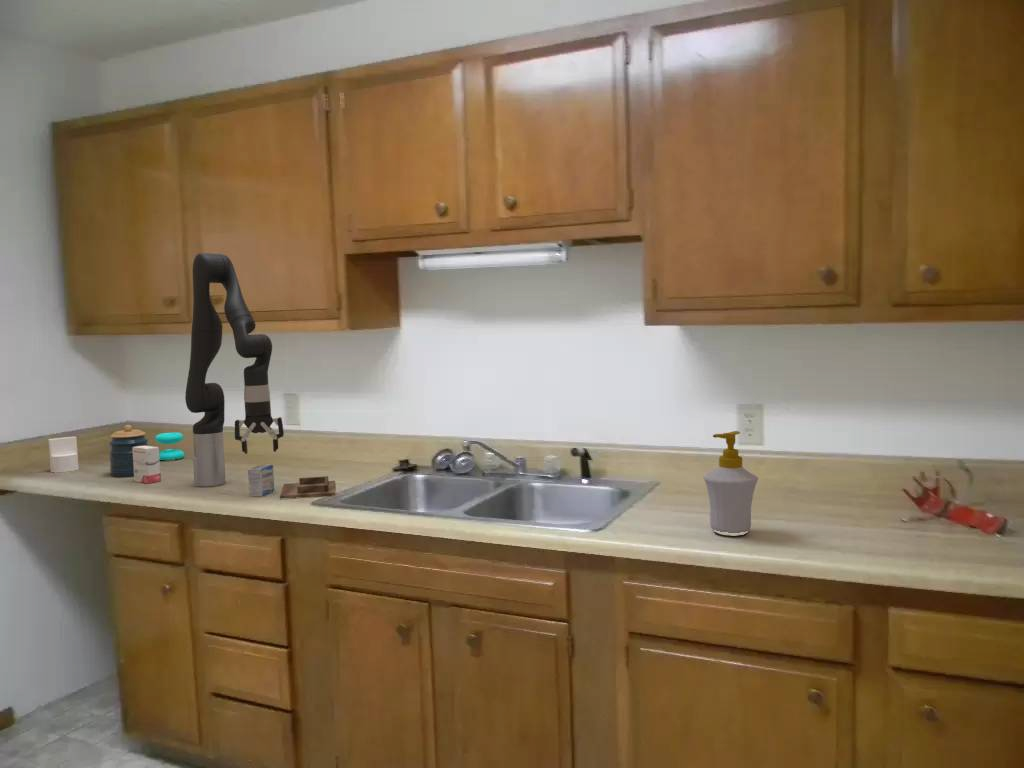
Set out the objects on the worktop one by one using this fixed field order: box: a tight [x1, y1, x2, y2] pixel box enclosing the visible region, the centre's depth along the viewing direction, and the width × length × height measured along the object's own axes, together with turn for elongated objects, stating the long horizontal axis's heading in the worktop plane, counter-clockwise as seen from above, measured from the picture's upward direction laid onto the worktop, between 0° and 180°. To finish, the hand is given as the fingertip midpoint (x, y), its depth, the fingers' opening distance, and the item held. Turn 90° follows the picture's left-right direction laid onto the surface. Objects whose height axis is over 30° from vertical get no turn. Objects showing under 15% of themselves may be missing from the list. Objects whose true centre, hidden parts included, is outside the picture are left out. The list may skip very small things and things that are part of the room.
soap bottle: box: [703, 430, 759, 533], centre depth 197 cm, size 13×13×25 cm
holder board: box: [279, 475, 336, 499], centre depth 255 cm, size 16×18×3 cm
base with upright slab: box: [48, 436, 79, 473], centre depth 298 cm, size 9×9×12 cm
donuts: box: [155, 431, 185, 461], centre depth 318 cm, size 10×10×10 cm
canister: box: [108, 424, 150, 478], centre depth 289 cm, size 13×13×18 cm
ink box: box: [132, 445, 162, 484], centre depth 275 cm, size 9×5×12 cm, turn 57°
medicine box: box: [247, 463, 275, 498], centre depth 251 cm, size 8×4×9 cm, turn 168°
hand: (260, 452), depth 251 cm, fingers open, 8 cm apart
